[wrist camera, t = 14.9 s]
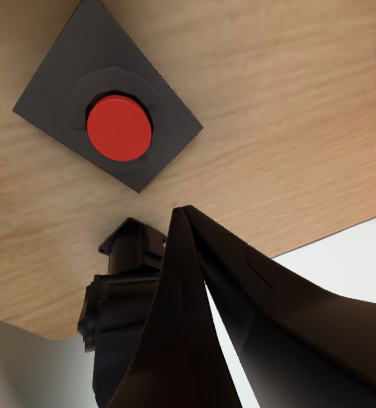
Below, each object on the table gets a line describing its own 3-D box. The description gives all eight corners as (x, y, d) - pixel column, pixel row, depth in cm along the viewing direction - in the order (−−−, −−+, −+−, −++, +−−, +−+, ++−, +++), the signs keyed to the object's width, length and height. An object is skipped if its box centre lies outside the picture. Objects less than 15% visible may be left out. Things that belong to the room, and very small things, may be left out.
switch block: (138, 186, 21) (140, 205, 18) (20, 106, 14) (-4, 117, 11) (199, 123, 18) (212, 134, 16) (91, -6, 12) (82, -24, 9)
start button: (126, 162, 16) (126, 171, 14) (78, 126, 13) (73, 134, 12) (159, 125, 15) (163, 132, 13) (114, 79, 12) (112, 82, 11)
